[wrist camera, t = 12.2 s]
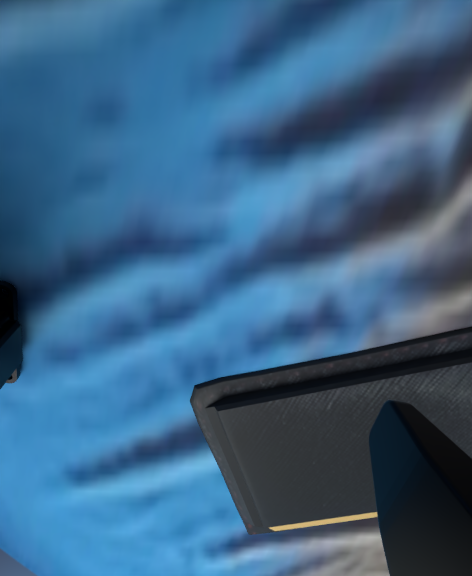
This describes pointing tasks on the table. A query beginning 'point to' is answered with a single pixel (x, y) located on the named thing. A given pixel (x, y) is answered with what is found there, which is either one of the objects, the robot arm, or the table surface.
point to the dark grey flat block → (327, 426)
